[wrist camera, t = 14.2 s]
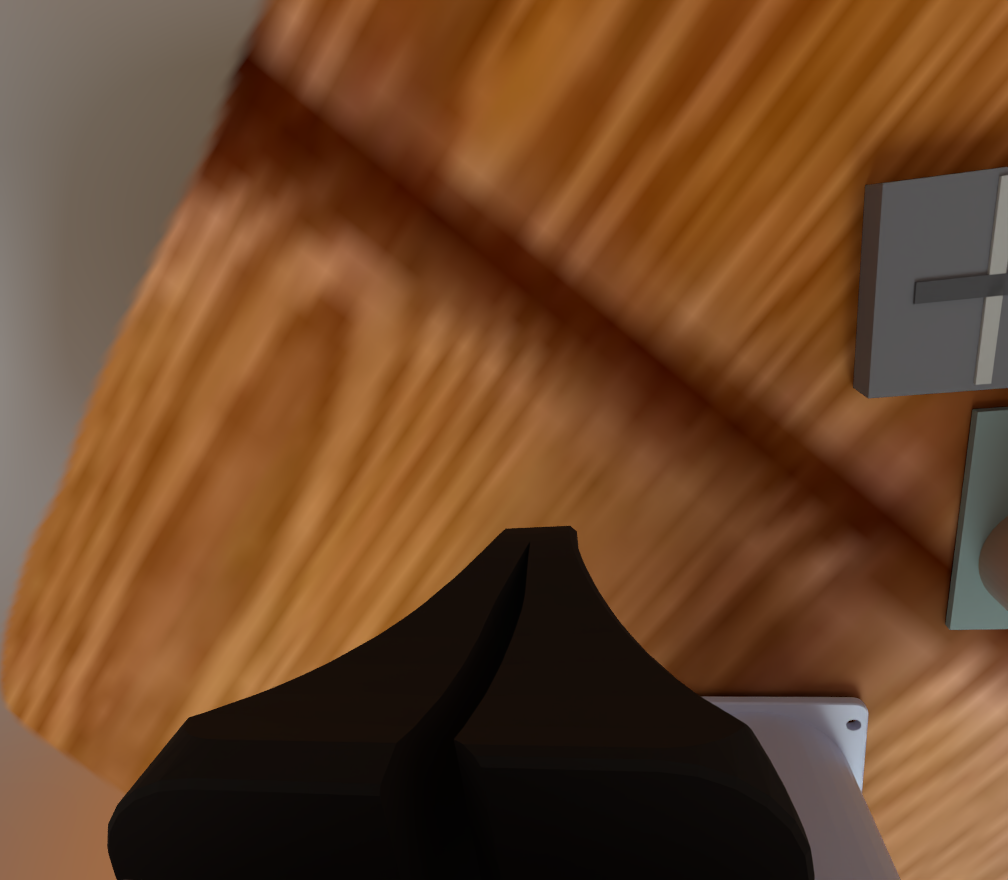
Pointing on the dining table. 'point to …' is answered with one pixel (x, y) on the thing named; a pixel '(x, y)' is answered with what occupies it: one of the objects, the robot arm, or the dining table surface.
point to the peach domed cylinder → (996, 563)
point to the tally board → (934, 285)
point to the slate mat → (979, 521)
